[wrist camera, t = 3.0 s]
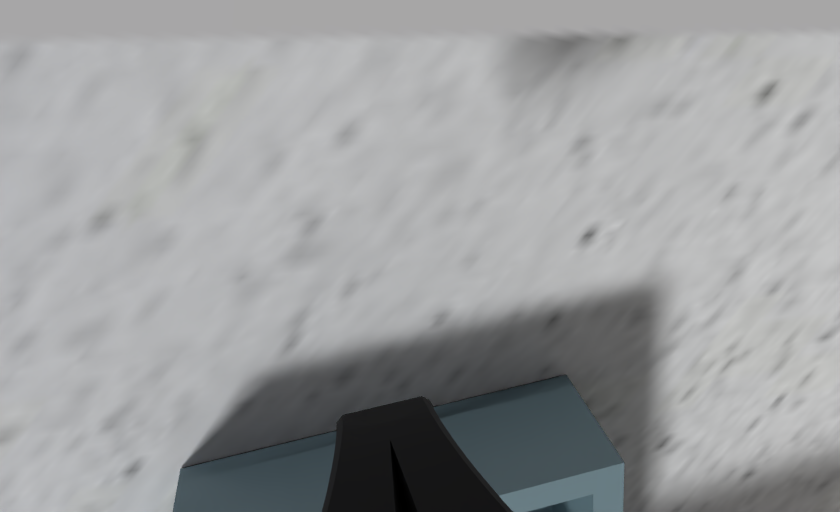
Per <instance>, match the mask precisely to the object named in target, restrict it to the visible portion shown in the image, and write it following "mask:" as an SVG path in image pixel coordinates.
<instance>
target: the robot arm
mask: <svg viewBox="0 0 840 512" xmlns="http://www.w3.org/2000/svg"><path fill="white" fill-rule="evenodd" d="M322 512H513V511H512V510H511V509H510V508H509V507H508V506H507V504H506V503H505V502H504V501H503V500H502V499H501V498H500V496H499V495H498V494H497V493H496V492H495V491H494V489H493V488H492V487H491V486H490V485H489V484H488V482H487V481H486V480H485V479H484V478H483V476H482V475H481V474H480V473H479V472H478V471H477V469H476V468H475V467H474V466H473V464H472V463H471V462H470V460H469V459H468V458H467V457H466V455H465V454H464V453H463V451H462V450H461V449H460V447H459V446H458V445H457V443H456V442H455V440H454V439H453V438H452V436H451V435H450V433H449V432H448V430H447V429H446V428H445V426H444V424H443V423H442V421H441V420H440V418H439V417H438V415H437V413H436V411H435V410H434V408H433V406H432V404H431V402H430V401H429V400H428V399H426V398H424V397H422V396H421V397H417V398H413V399H409V400H404V401H400V402H396V403H392V404H388V405H383V406H379V407H375V408H371V409H367V410H362V411H358V412H354V413H350V414H345V415H343V416H342V417H341V418H340V419H339V421H338V422H337V432H336V443H335V451H334V457H333V463H332V469H331V474H330V478H329V483H328V488H327V493H326V497H325V501H324V504H323V508H322Z"/></svg>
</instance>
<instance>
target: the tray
mask: <svg viewBox="0 0 840 512" xmlns="http://www.w3.org/2000/svg"><path fill="white" fill-rule="evenodd" d="M433 408H434V410H435V411H436V413H437V415H438V417H439V418H440V420H441V421H442V423H443V424H444V426H445V428H446V429H447V430H448V432H449V433H450V435H451V436H452V438H453V439H454V440H455V442H456V443H457V445H458V446H459V447H460V449H461V450H462V451H463V453H464V454H465V455H466V457H467V458H468V459H469V460H470V462H471V463H472V464H473V466H474V467H475V468H476V469H477V471H478V472H479V473H480V474H481V475H482V476H483V478H484V479H485V480H486V481H487V482H488V484H489V485H490V486H491V487H492V488H493V489H494V491H495V492H496V493H497V494H498V495H499V496H500V498H501V499H502V500H503V501H504V502H505V503H506V504H507V506H508V507H509V508H510V509H511V510H512V511H513V512H623V497H624V461H623V460H622V458H621V457H620V455H619V454H618V452H617V451H616V449H615V448H614V446H613V445H612V443H611V442H610V440H609V439H608V437H607V436H606V434H605V433H604V431H603V430H602V428H601V426H600V425H599V423H598V422H597V420H596V419H595V417H594V416H593V414H592V413H591V411H590V410H589V408H588V407H587V405H586V404H585V402H584V401H583V399H582V398H581V396H580V395H579V393H578V392H577V390H576V389H575V387H574V386H573V384H572V383H571V381H570V380H569V378H568V377H567V375H564V376H559V377H555V378H551V379H547V380H543V381H539V382H535V383H531V384H527V385H523V386H518V387H514V388H510V389H506V390H502V391H498V392H494V393H490V394H486V395H482V396H477V397H473V398H469V399H465V400H461V401H457V402H453V403H449V404H445V405H441V406H436V407H433ZM336 432H337V431H334V432H330V433H326V434H322V435H317V436H313V437H309V438H305V439H301V440H297V441H293V442H289V443H285V444H281V445H276V446H272V447H268V448H264V449H260V450H256V451H252V452H248V453H244V454H240V455H235V456H231V457H227V458H223V459H219V460H215V461H211V462H207V463H203V464H199V465H194V466H190V467H186V468H182V469H180V475H179V480H178V486H177V491H176V497H175V502H174V508H173V512H322V508H323V504H324V501H325V497H326V493H327V488H328V483H329V478H330V474H331V469H332V463H333V457H334V451H335V443H336Z"/></svg>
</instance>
